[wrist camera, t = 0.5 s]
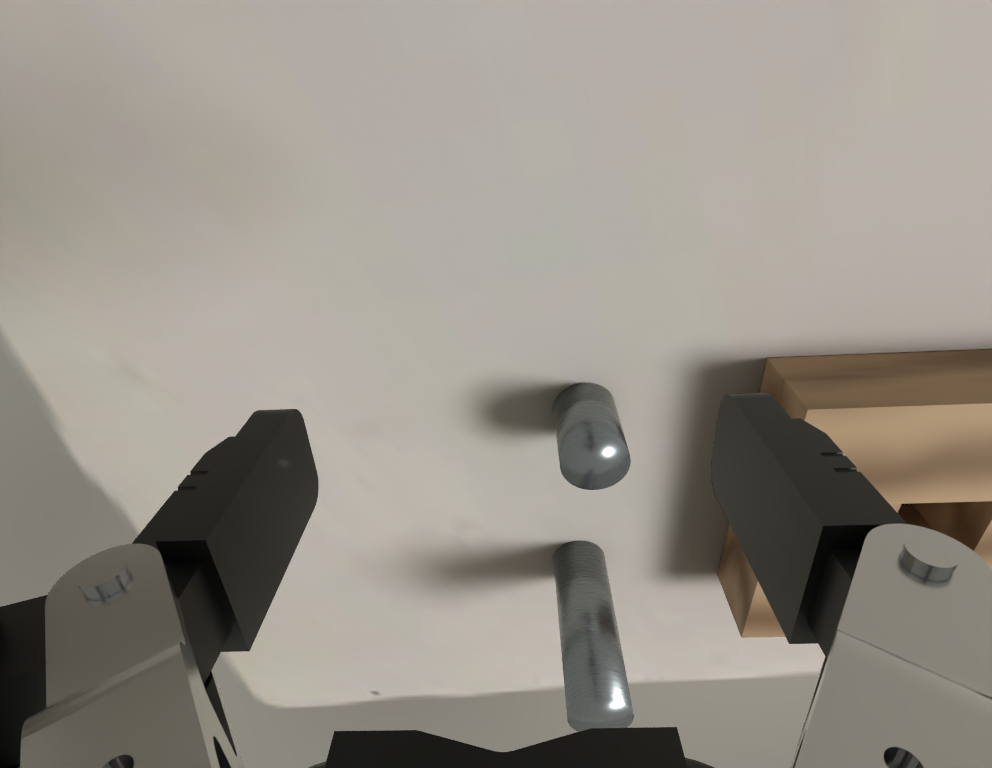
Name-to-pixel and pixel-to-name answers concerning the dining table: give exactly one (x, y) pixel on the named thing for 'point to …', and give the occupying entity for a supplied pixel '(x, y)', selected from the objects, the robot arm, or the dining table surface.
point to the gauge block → (888, 446)
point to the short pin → (590, 437)
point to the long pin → (590, 640)
